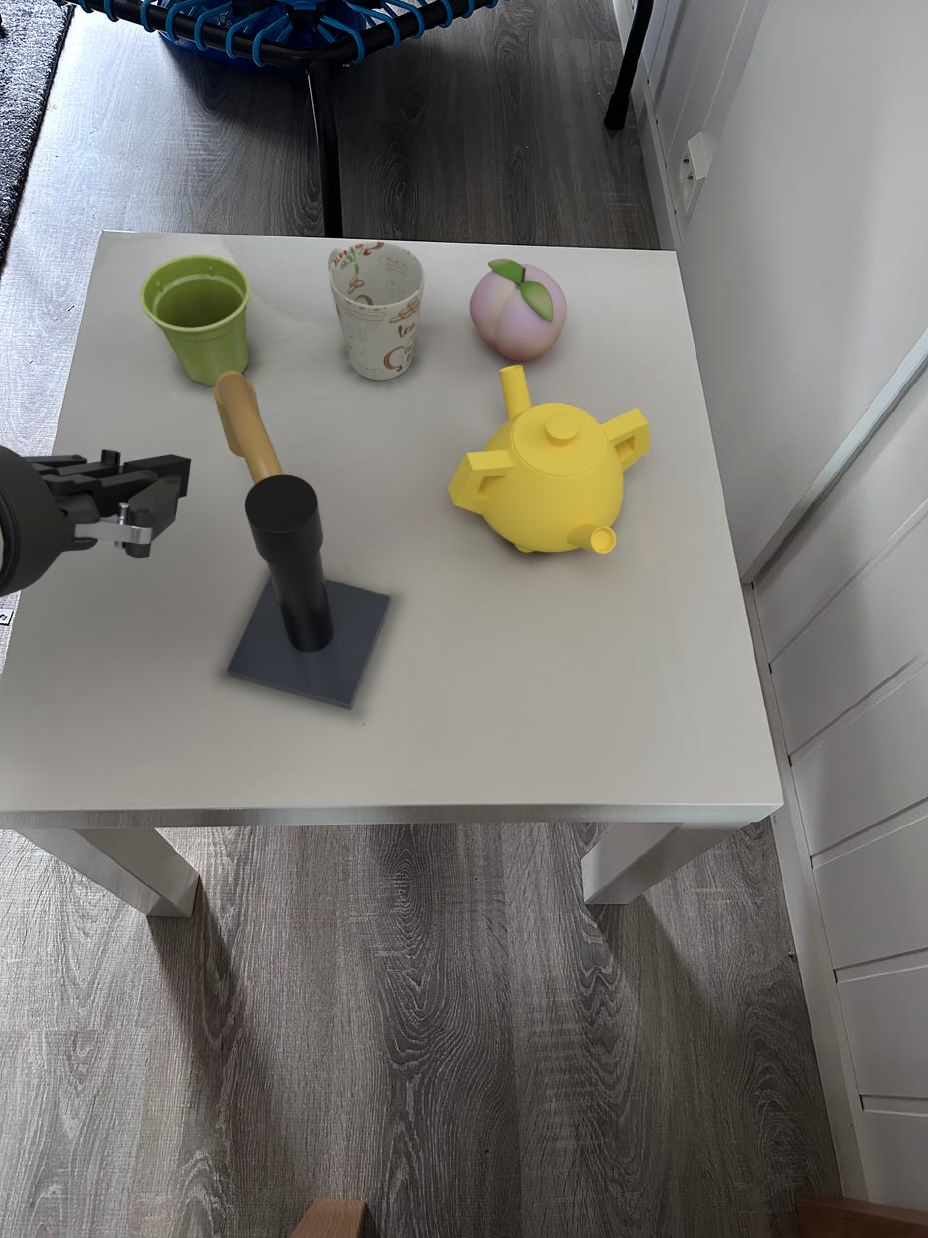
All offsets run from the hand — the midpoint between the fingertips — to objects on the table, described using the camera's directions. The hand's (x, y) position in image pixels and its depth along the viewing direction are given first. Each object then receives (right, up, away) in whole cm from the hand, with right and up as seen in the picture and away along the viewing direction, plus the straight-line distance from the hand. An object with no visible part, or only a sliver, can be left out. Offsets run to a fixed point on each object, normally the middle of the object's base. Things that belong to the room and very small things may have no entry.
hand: (179, 475), depth 60 cm
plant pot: (-4, +14, +21) cm, 26 cm away
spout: (+7, -2, +1) cm, 7 cm away
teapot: (+27, -1, +15) cm, 31 cm away
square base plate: (+8, -12, +8) cm, 16 cm away
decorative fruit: (+25, +16, +24) cm, 39 cm away
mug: (+11, +17, +23) cm, 31 cm away
